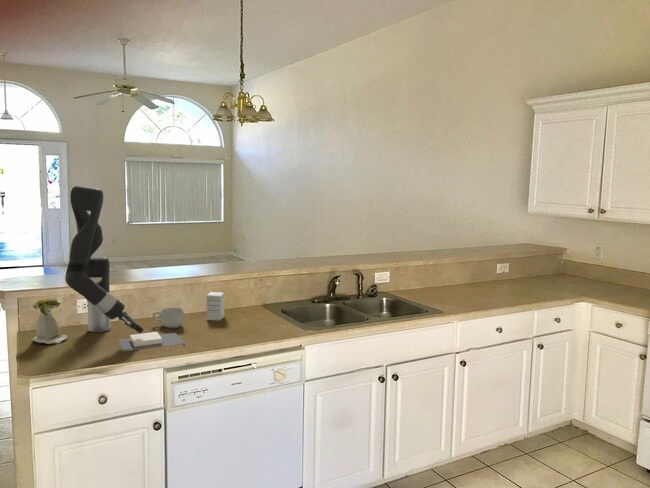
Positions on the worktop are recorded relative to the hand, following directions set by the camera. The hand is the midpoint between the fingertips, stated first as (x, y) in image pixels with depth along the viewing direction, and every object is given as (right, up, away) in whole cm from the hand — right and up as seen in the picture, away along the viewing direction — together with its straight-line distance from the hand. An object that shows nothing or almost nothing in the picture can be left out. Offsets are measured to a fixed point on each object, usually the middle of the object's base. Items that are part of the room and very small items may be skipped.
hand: (141, 331), depth 212 cm
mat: (+3, -6, +3) cm, 7 cm away
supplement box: (+21, -1, +43) cm, 48 cm away
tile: (-3, -4, -2) cm, 5 cm away
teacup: (+3, -3, +27) cm, 27 cm away
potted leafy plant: (-39, -4, +2) cm, 40 cm away
